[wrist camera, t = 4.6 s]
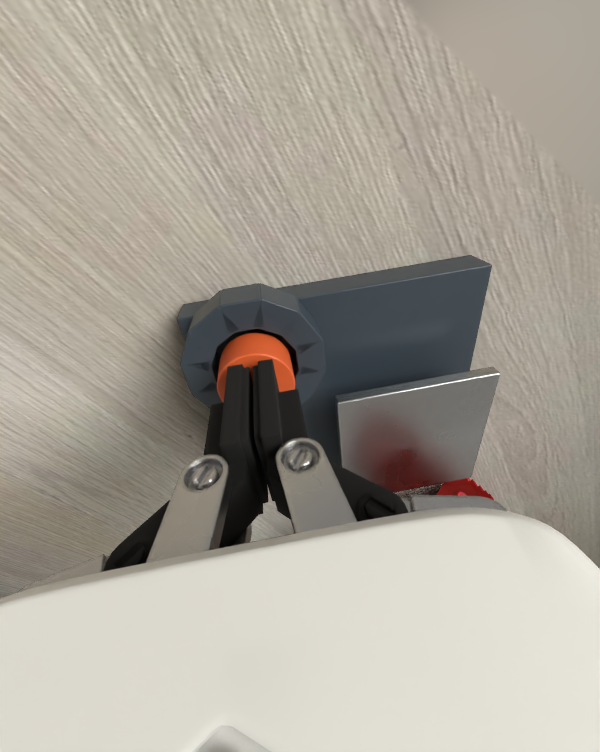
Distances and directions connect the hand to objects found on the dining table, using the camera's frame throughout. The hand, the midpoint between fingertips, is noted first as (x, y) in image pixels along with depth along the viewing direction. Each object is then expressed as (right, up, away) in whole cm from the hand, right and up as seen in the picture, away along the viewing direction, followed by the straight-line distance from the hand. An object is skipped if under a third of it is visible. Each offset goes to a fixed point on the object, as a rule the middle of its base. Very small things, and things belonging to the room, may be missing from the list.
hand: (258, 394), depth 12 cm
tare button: (0, +1, +2) cm, 2 cm away
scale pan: (+7, -3, +5) cm, 9 cm away
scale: (+4, 0, +7) cm, 8 cm away
